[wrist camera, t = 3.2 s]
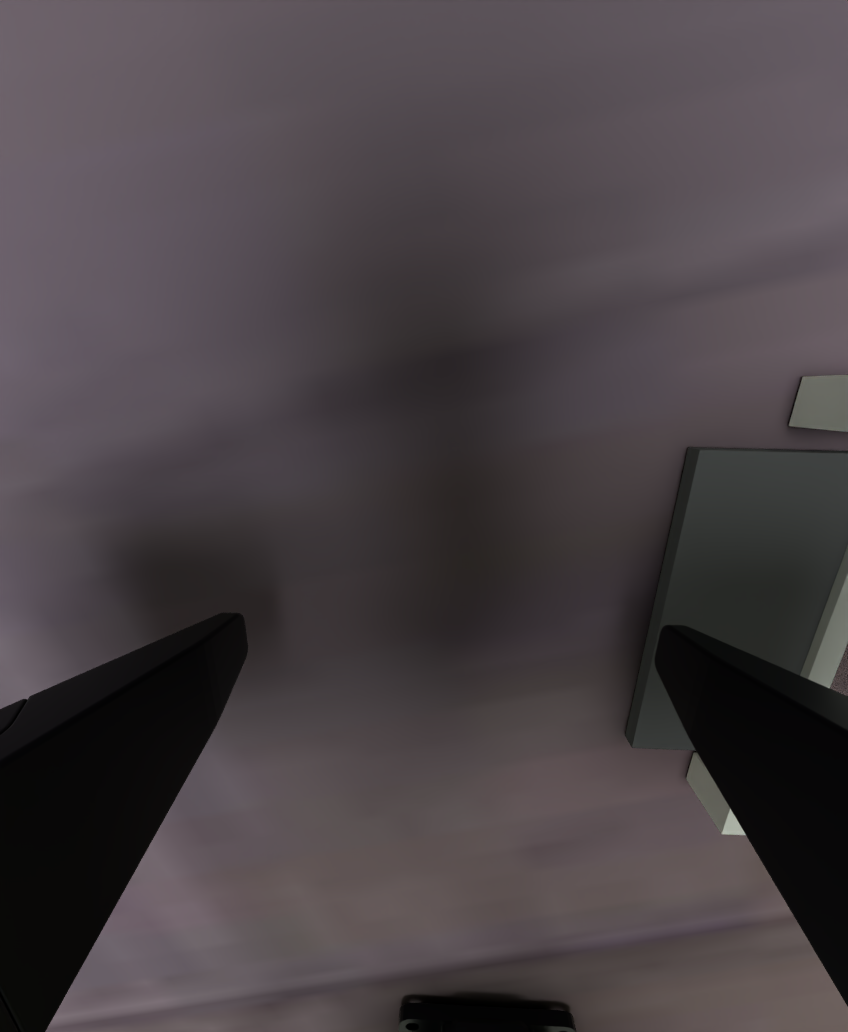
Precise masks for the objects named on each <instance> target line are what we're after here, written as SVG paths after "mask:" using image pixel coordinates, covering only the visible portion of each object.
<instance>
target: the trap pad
mask: <svg viewBox="0 0 848 1032" xmlns="http://www.w3.org/2000/svg"><path fill="white" fill-rule="evenodd" d="M665 625H685V626H688V627H690V628H692V629H695V630H697V631H699V632H702V633H704V634H706V635H708V636H711V637H713V638H715V639H718V640H720V641H722V642H725V643H727V644H729V645H731V646H734V647H736V648H738V649H741V650H743V651H745V652H747V653H750V654H752V655H754V656H757V657H759V658H761V659H763V660H766V661H768V662H770V663H773V664H775V665H777V666H779V667H782V668H784V669H786V670H789V671H791V672H793V673H795V674H798V675H800V676H802V677H805V678H807V679H809V680H811V681H814V682H816V683H818V684H821V685H823V686H825V687H827V688H830V686H831V684H832V681H833V679H834V676H835V674H836V671H837V669H838V666H839V664H840V661H841V659H842V656H843V654H844V651H845V649H846V646H847V644H848V451H821V450H780V449H739V448H697V447H688V452H687V456H686V461H685V465H684V470H683V474H682V479H681V483H680V488H679V493H678V497H677V502H676V506H675V511H674V515H673V520H672V524H671V529H670V534H669V538H668V543H667V547H666V552H665V556H664V561H663V565H662V570H661V575H660V579H659V584H658V588H657V593H656V597H655V602H654V606H653V611H652V616H651V620H650V625H649V629H648V634H647V638H646V643H645V647H644V652H643V657H642V661H641V666H640V670H639V675H638V679H637V684H636V688H635V693H634V698H633V702H632V707H631V711H630V716H629V720H628V725H627V729H626V734H625V736H626V738H627V740H628V742H629V744H630V745H631V747H632V748H648V749H673V750H695V748H694V746H693V745H692V743H691V741H690V739H689V737H688V735H687V734H686V732H685V730H684V728H683V726H682V724H681V721H680V719H679V717H678V715H677V713H676V711H675V709H674V707H673V704H672V702H671V700H670V698H669V696H668V694H667V692H666V690H665V687H664V685H663V683H662V681H661V679H660V677H659V675H658V673H657V670H656V668H655V663H654V658H655V653H656V648H657V644H658V639H659V635H660V631H661V629H662V627H663V626H665Z"/></svg>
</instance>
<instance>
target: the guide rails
mask: <svg viewBox="0 0 848 1032" xmlns="http://www.w3.org/2000/svg"><path fill="white" fill-rule="evenodd" d="M789 426H793V427H803V428H812V429H822V430H832V431H842V432H848V375H830V376H803V377H802V381H801V384H800V388H799V391H798V395H797V398H796V401H795V405H794V408H793V412H792V415H791V419H790V422H789ZM686 780H687V781H688V783H689V785H690V786H691V788H692V789H693V791H694V792H695V794H696V795H697V797H698V799H699V800H700V802H701V803H702V805H703V806H704V808H705V809H706V811H707V813H708V814H709V816H710V817H711V819H712V820H713V822H714V823H715V825H716V826H717V828H718V830H719V831H720V833H721V834H730V835H746V834H745V833H744V831H743V829H742V828H741V826H740V824H739V822H738V821H737V819H736V817H735V816H734V814H733V812H732V811H731V809H730V807H729V806H728V804H727V802H726V801H725V799H724V797H723V796H722V794H721V792H720V790H719V789H718V787H717V785H716V784H715V782H714V780H713V779H712V777H711V775H710V774H709V772H708V770H707V769H706V767H705V765H704V764H703V762H702V760H701V758H700V757H699V755H698V753H697V752H694V753H693V757H692V760H691V764H690V767H689V770H688V774H687V777H686Z"/></svg>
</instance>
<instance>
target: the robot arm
mask: <svg viewBox="0 0 848 1032" xmlns="http://www.w3.org/2000/svg"><path fill="white" fill-rule="evenodd" d="M247 652H248V643H247V636H246V628H245V621H244V618H243V616H242V615H241V614H240V613H220V614H218V615H215V616H213V617H211V618H208V619H206V620H204V621H202V622H199V623H197V624H195V625H192V626H190V627H188V628H186V629H183V630H181V631H179V632H176V633H174V634H172V635H169V636H167V637H165V638H163V639H160V640H158V641H156V642H153V643H151V644H149V645H147V646H144V647H142V648H140V649H137V650H135V651H133V652H130V653H128V654H126V655H124V656H121V657H119V658H117V659H114V660H112V661H110V662H107V663H105V664H103V665H101V666H98V667H96V668H94V669H91V670H89V671H87V672H85V673H82V674H80V675H78V676H75V677H73V678H71V679H68V680H66V681H64V682H62V683H59V684H57V685H55V686H52V687H50V688H48V689H46V690H43V691H41V692H39V693H36V694H34V695H32V696H30V697H29V698H28V700H27V699H22V700H20V701H18V702H15V703H13V704H11V705H9V706H6V707H4V708H2V709H0V1032H45V1031H46V1029H47V1028H48V1026H49V1024H50V1022H51V1020H52V1019H53V1017H54V1015H55V1013H56V1011H57V1010H58V1008H59V1006H60V1004H61V1003H62V1001H63V999H64V997H65V995H66V994H67V992H68V990H69V988H70V986H71V985H72V983H73V981H74V979H75V977H76V976H77V974H78V972H79V970H80V969H81V967H82V965H83V963H84V961H85V960H86V958H87V956H88V954H89V952H90V951H91V949H92V947H93V945H94V943H95V942H96V940H97V938H98V936H99V935H100V933H101V931H102V929H103V927H104V926H105V924H106V922H107V920H108V918H109V917H110V915H111V913H112V911H113V909H114V908H115V906H116V904H117V902H118V901H119V899H120V897H121V895H122V893H123V892H124V890H125V888H126V886H127V884H128V883H129V881H130V879H131V877H132V875H133V874H134V872H135V870H136V868H137V867H138V865H139V863H140V861H141V859H142V858H143V856H144V854H145V852H146V850H147V849H148V847H149V845H150V843H151V841H152V840H153V838H154V836H155V834H156V832H157V831H158V829H159V827H160V825H161V824H162V822H163V820H164V818H165V816H166V815H167V813H168V811H169V809H170V807H171V806H172V804H173V802H174V800H175V798H176V797H177V795H178V793H179V791H180V790H181V788H182V786H183V784H184V782H185V781H186V779H187V777H188V775H189V773H190V772H191V770H192V768H193V766H194V764H195V763H196V761H197V759H198V757H199V756H200V754H201V752H202V750H203V748H204V747H205V745H206V743H207V741H208V739H209V738H210V736H211V734H212V732H213V730H214V728H215V727H216V725H217V723H218V721H219V719H220V716H221V714H222V712H223V710H224V708H225V705H226V703H227V701H228V698H229V696H230V694H231V691H232V689H233V687H234V684H235V682H236V680H237V677H238V675H239V673H240V670H241V668H242V666H243V664H244V661H245V659H246V656H247ZM654 663H655V668H656V670H657V673H658V675H659V677H660V679H661V681H662V683H663V685H664V687H665V690H666V692H667V694H668V696H669V698H670V700H671V702H672V704H673V707H674V709H675V711H676V713H677V715H678V717H679V719H680V721H681V724H682V726H683V728H684V730H685V732H686V734H687V735H688V737H689V739H690V741H691V743H692V745H693V746H694V748H695V750H696V752H697V753H698V755H699V757H700V758H701V760H702V762H703V764H704V765H705V767H706V769H707V770H708V772H709V774H710V775H711V777H712V779H713V780H714V782H715V784H716V785H717V787H718V789H719V790H720V792H721V794H722V796H723V797H724V799H725V801H726V802H727V804H728V806H729V807H730V809H731V811H732V812H733V814H734V816H735V817H736V819H737V821H738V822H739V824H740V826H741V828H742V829H743V831H744V833H745V834H746V836H747V838H748V839H749V841H750V843H751V844H752V846H753V848H754V849H755V851H756V853H757V854H758V856H759V858H760V860H761V861H762V863H763V865H764V866H765V868H766V870H767V871H768V873H769V875H770V876H771V878H772V880H773V881H774V883H775V885H776V886H777V888H778V890H779V892H780V893H781V895H782V897H783V898H784V900H785V902H786V903H787V905H788V907H789V908H790V910H791V912H792V913H793V915H794V917H795V919H796V920H797V922H798V924H799V925H800V927H801V929H802V930H803V932H804V934H805V935H806V937H807V939H808V940H809V942H810V944H811V945H812V947H813V949H814V951H815V952H816V954H817V956H818V957H819V959H820V961H821V962H822V964H823V966H824V967H825V969H826V971H827V972H828V974H829V976H830V977H831V979H832V981H833V983H834V984H835V986H836V988H837V989H838V991H839V993H840V994H841V996H842V998H843V999H844V1001H845V1003H846V1004H847V1006H848V696H846V695H843V694H841V693H839V692H837V691H834V690H832V689H830V688H827V687H825V686H823V685H821V684H818V683H816V682H814V681H811V680H809V679H807V678H805V677H802V676H800V675H798V674H795V673H793V672H791V671H789V670H786V669H784V668H782V667H779V666H777V665H775V664H773V663H770V662H768V661H766V660H763V659H761V658H759V657H757V656H754V655H752V654H750V653H747V652H745V651H743V650H741V649H738V648H736V647H734V646H731V645H729V644H727V643H725V642H722V641H720V640H718V639H715V638H713V637H711V636H708V635H706V634H704V633H702V632H699V631H697V630H695V629H692V628H690V627H688V626H685V625H665V626H663V627H662V629H661V631H660V635H659V639H658V644H657V648H656V653H655V658H654ZM399 1032H576V1028H575V1024H574V1019H573V1016H572V1015H571V1013H569V1012H567V1011H560V1010H540V1009H521V1008H502V1007H482V1006H463V1005H444V1004H424V1003H407V1004H404V1005H403V1006H402V1007H401V1008H400V1014H399Z"/></svg>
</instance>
